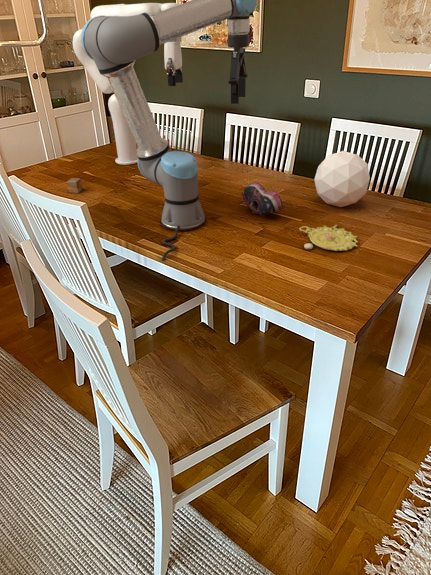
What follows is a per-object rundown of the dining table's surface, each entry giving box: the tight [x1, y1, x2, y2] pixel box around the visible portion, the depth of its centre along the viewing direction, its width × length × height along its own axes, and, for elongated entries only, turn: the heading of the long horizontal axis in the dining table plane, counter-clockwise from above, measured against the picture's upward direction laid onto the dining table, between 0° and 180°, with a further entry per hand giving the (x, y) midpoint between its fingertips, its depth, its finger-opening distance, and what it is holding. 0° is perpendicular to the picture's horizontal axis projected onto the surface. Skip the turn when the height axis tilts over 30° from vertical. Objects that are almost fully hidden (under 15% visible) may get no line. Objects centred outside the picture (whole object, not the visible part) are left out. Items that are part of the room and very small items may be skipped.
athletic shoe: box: [238, 182, 284, 217], centre depth 160 cm, size 11×22×12 cm
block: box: [66, 177, 84, 194], centre depth 184 cm, size 4×4×5 cm
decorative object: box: [299, 224, 359, 252], centre depth 141 cm, size 21×2×20 cm
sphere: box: [313, 150, 371, 208], centre depth 161 cm, size 19×20×20 cm
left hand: (175, 84), depth 190 cm, fingers open, 9 cm apart
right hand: (238, 100), depth 163 cm, fingers open, 13 cm apart
